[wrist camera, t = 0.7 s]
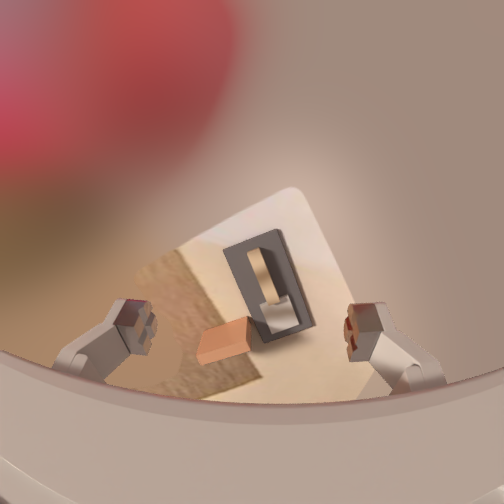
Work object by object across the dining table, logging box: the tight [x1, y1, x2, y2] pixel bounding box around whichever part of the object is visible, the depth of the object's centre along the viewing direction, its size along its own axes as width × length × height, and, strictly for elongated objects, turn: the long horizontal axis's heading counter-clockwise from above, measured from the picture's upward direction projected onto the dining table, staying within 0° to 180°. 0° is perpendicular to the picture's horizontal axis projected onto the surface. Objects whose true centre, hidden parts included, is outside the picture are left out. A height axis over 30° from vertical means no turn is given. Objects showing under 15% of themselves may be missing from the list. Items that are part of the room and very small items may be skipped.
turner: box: [247, 247, 299, 334], centre depth 56 cm, size 18×6×2 cm, turn 22°
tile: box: [196, 316, 251, 365], centre depth 55 cm, size 3×10×10 cm, turn 112°
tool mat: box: [223, 229, 312, 343], centre depth 57 cm, size 22×11×1 cm, turn 22°
